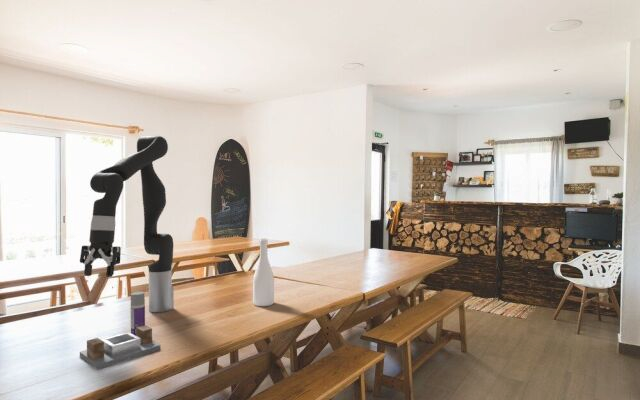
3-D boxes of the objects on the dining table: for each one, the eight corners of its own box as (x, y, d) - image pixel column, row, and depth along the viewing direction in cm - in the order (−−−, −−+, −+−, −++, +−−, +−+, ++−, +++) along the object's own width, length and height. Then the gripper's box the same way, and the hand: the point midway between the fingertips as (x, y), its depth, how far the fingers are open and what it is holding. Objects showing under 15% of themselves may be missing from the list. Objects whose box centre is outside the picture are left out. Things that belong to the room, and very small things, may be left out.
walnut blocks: (145, 338, 132) (144, 325, 132) (152, 341, 129) (152, 328, 129) (86, 355, 119) (86, 340, 119) (93, 359, 115) (93, 344, 115)
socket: (128, 340, 130) (128, 332, 130) (140, 347, 125) (140, 338, 124) (101, 348, 123) (100, 339, 123) (112, 356, 118) (112, 346, 118)
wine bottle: (249, 305, 176) (248, 239, 176) (261, 299, 185) (261, 237, 184) (266, 308, 172) (265, 240, 171) (278, 302, 180) (278, 238, 180)
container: (147, 331, 143) (146, 291, 142) (141, 336, 138) (141, 294, 138) (134, 332, 142) (133, 291, 142) (128, 336, 138) (128, 294, 137)
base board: (140, 338, 136) (140, 334, 136) (160, 349, 127) (160, 344, 127) (79, 356, 121) (79, 351, 121) (97, 369, 112) (97, 364, 112)
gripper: (127, 230, 138) (124, 276, 136) (93, 229, 141) (89, 274, 139) (112, 229, 131) (108, 278, 129) (76, 228, 134) (72, 276, 132)
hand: (98, 276), depth 134 cm, fingers open, 8 cm apart
